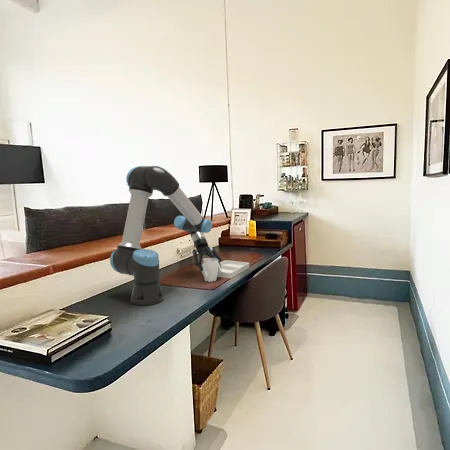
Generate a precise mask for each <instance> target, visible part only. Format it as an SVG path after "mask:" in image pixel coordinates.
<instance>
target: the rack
mask: <svg viewBox="0 0 450 450" xmlns="http://www.w3.org/2000/svg"><path fill="white" fill-rule="evenodd" d="M220 265H221V270H222V273H221V274H219V272H217V278H225V279H232V278H234V277H236V276H237V275H239V274H241V273H243V272H244V271H246V270H247V269H249V268H250V262H245V261H235V260H229V259H227V260H223V261H221V262H220Z"/></svg>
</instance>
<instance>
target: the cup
mask: <svg viewBox="0 0 450 450" xmlns="http://www.w3.org/2000/svg"><path fill="white" fill-rule="evenodd" d="M202 264H203V265H204V268H205V270H206V273H207V275H206V276H205V277H204V276H203V278H204V281H205V282H207V281H208V282H209V283H210V282H211V283H213V281H214V282H216V281H217V279H218V277H217V272H218V259H217V258H210V257H204V258H202V263H201V265H202Z"/></svg>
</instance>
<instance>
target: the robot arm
mask: <svg viewBox="0 0 450 450" xmlns="http://www.w3.org/2000/svg"><path fill="white" fill-rule="evenodd" d="M125 179H126V183H127V186H128V187H129V188H128V192H129V193H130V199H129V204H128V209H127V213H126V214H127V215H126V219H125V225H124V229H123V233H122V239H121V242H120V243H119V244H117V248H116V249H115V250H113V252H112V253H111V255H110V257H109V263H110V266H111V267H112V270H113V271H114V272H117V273H119V274H121V275H128V276H132V277H133V288H132V291H131V294H130V295H131V296H130V303H132V304H133V305H138V306H149V305H150V306H151V305H156V304H160V303H161V302H163V301H164V299H165V298H164V292H163V289H162V286H161V283H160V257H159V254H158V252H156V251H155V250H152V249H146V248H142V246H141V245H140V243H141V239H142V233H143V229H144V228H143V227H144V224H145V218H146V214H147V207H148V202H149V199H150V198H151V197H152V196H153V192H154V191H158V192H160V193H161V194H162V195H163V196H164V197H167V198H168V199H169V200H170V202H171V203H172V204H173V205H174V206H175V207H176V208H177V209H178V211H179V212H180V213H181V214H182V215H178V216H176V217H175V218H174V221H173V225H174V227H175V228H176V229H177V230H181V231H182V232H183V231H184V232H186V233H189V235H190V237H191V240H192V242H193V245H194V248H193V249H192V251H191V253H192V256H193V262H194V266H195V267H197V268H199V271H200V272H201V273H202V275H203V278H204V277H205V276H206V275H207V273H206V270H205V268H204V265H203V264H202V263H203V256H208V258H217V259H218V272H219V274H221V273H222V270H221V265H220V263H221V262H222V258H221V256H220V254H219V253H218V252H217V251H216V248H215V247H214V246H212V247H210V245H209V243H208V241H207V239H206V236H205V234H206V233H210V232H211V230H212V228H213V223H212V221H211V220H210V219H209V218H204V216H203V215H202V214H201V213H200V212H199V210H198V209H197V207H196V206H195V205H194V204H193V203H192V201H191V199H189V197H188V196H187V195H186V194H185V192H184V191H183V190H182V188H181V187H180V183H179V182H178V180H177V179H176V177H174V176H173V175H172V174H171V173H170V172H169V171H167V170H166V169H165V168H163V167H161V166H158V165H148V166H147V165H139V166H134V167H132V168H131V169H129V171H128V172H127V174H126V178H125ZM204 233H205V234H204ZM198 254H199V255H198Z"/></svg>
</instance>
